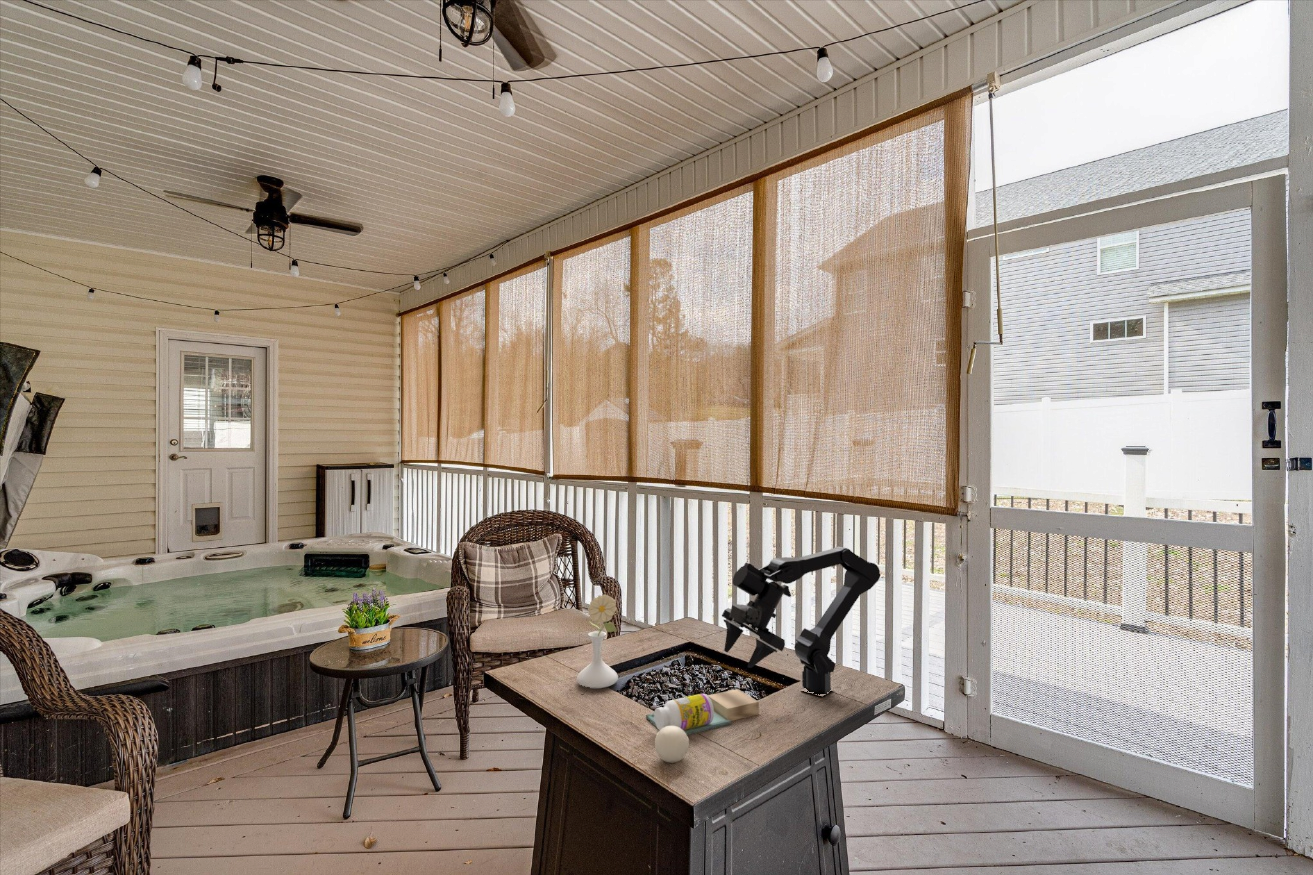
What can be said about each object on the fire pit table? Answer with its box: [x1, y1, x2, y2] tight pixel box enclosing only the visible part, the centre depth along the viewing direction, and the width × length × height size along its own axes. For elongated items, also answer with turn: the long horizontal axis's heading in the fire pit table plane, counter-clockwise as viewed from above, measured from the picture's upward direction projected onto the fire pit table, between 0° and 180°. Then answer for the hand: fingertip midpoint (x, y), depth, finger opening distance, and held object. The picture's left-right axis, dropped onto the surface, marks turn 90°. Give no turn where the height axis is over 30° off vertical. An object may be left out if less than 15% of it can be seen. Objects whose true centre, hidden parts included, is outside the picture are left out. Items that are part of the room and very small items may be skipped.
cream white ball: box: [654, 726, 690, 763], centre depth 127 cm, size 7×7×7 cm
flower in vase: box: [576, 593, 619, 689], centre depth 168 cm, size 13×11×25 cm
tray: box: [645, 712, 731, 736], centre depth 145 cm, size 16×12×1 cm
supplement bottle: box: [653, 693, 714, 731], centre depth 140 cm, size 7×7×13 cm
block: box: [706, 688, 760, 722], centre depth 151 cm, size 9×9×3 cm
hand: (737, 659), depth 156 cm, fingers open, 9 cm apart
